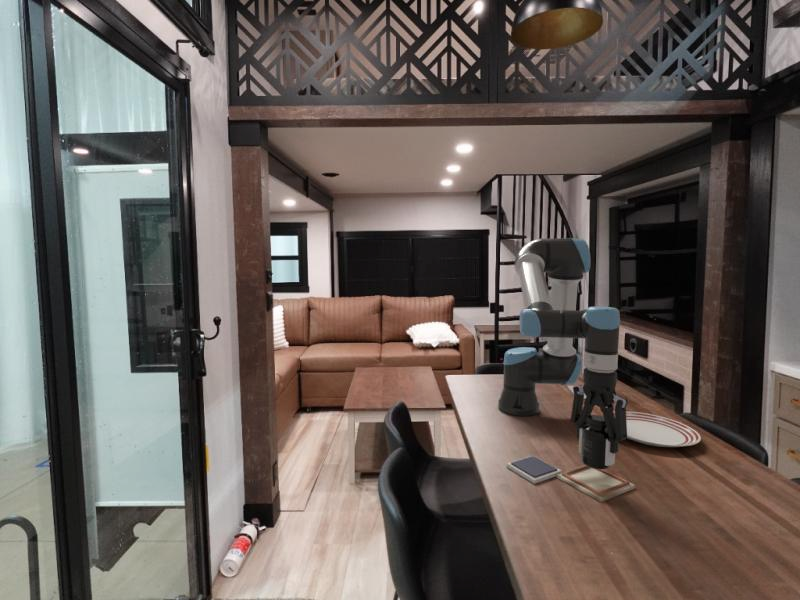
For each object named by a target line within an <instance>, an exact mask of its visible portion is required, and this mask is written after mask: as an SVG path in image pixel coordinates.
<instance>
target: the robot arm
mask: <svg viewBox="0 0 800 600" xmlns="http://www.w3.org/2000/svg"><path fill="white" fill-rule="evenodd" d="M591 261H592V260H591V252H590V249H589V244H588V243H587V241H586V240H584V239H582V238H574V237H570V238H569V237H567V238H566V237H565V238H561V237H560V238H536V239H534V240H532V241H529V242H528V243H526V244H524V245H523V246H522V247H521V248H520V249H519V251H518V252H517V254H516V256H515V259H514V269H515V272H516V274H517V275H518V276H519V280H520V287H521V293H522V298H523V304H524V309H522V310H521V311H520V313H519V331H520V334H521V335H522V336H524V337H532V338H547V343H546V344H545V345H543V347H542V352H538V351H537V348H535V347H531V346H530V347H526V346H524V347H523V346H521V347H513V348H510V349H507V351H505V353H504V358H503V363H502V364H503V388H502V391H501V394H500V398H499V399H498V404H497V408H498V409H499V411H501V413H504V414H508V415H512V416H516V417H517V416H518V417H520V416H521V417H528V416H529V417H530V416H536V415H537V414H539V413H540V403H539V401H538V397H537V396H538V395H537V392H536V384H540V385H541V384H543V385H544V384H545V385H556V386H557V385H558V386H559V385H560V386H573V385H574V384H575V383H577V381H578V380H579V378H580V374H581V370H582V368H581V363H582V361H581V356H580V354H578V353H577V349H575V347H574V346H573V343H574V339H584V357H583V358H584V359H583V367H585V368H584V369H583V373H582V374H583V376H582V380H583V383H584V384H583V385H582V384H581V385H574V386H575V387H573V392H574V394H573V399H572V400H573V401H572V408H571V417H570V422H571V423H573V424H574V425H576V427H577V428H576V429H577V433H576V436H577V439H578V454H581V455H582V434H583V428H584V427H585V426H587V425H588V424H587V420H588V416H589V415H592V413H593V410H594V407H595V406H596V407H597V408H599V409H600V412H601V413H602V416H604V420H605V424H606V428H607V431H608V435H609V439H606V451H605V465H606V466H610V467H611V466H612V465H614V464H616V460H615V459H616V454H617V453H618V452H619V443H620V442H621V441H624V440H626V439H628V438H627V422H626V412H627V406H628V402H629V401H628V399H627V398H622V397H620V396H618V395H617V392H616V388H617V383H618V382H617V381H618V380H617V379H618V372H617V370H618V364H619V363H618V361H619V344H620V343H619V342H620V341H619V340H620V339H619V337H620V325H621V318H620V316H621V315H620V311H619V309H618V308H616V307H611V306H601V305H600V306H599V305H598V306H595V305H594V306H589V307H587V308H586V309H581V310H576V309H577V299H578V298H577V297H578V287H579V283H580V282H581V281H582V280H583V279H584V274H587V273H589V272H590V270H591V263H592V262H591ZM545 273H547V278H548V279H549V280H550V281H551V291H550V292H549V287H548V284H547V280H546V276H545ZM584 393H585V395H586V399H584ZM613 402H614V403H613ZM614 412H615V416H614Z"/></svg>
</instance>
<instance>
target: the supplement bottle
mask: <svg viewBox="0 0 800 600" xmlns="http://www.w3.org/2000/svg"><path fill="white" fill-rule="evenodd" d="M587 424H588V425H587V426H585V427H584V428H583V434H582V454H581V455H580V457H581V459H580V460H581V462H582V463H583V465H586V466H588V467H591V468H594V469H604V470H607V469H610V467H611V465H610V466H606V465H605V451H606V439H609V435H608V431H607V428H606V424H605V420H604V416H603V415H599V414H591V415H589V416H588V420H587Z"/></svg>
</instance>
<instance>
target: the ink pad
mask: <svg viewBox="0 0 800 600" xmlns="http://www.w3.org/2000/svg"><path fill="white" fill-rule="evenodd" d="M506 468H508V469H509V470H511V471H512V472H514V473H515V474H517V475H519V476H521V477H522V478H524V479H525V480H528V482H531V483H532V484H535V485H536V484H538V483H541V482H543V481H546V480H549V479H551V478H555V477H557V474H560V473H563V471H562V470H561V469H559V468H557V467H556V466H554V465H551V464H550V463H548V462H546V461H544V460H542V459H540V458H539V457H537V456H535V455H530V456H527V457H523V458H521V459H517V460H514V461H511V462H507V463H506Z"/></svg>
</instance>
